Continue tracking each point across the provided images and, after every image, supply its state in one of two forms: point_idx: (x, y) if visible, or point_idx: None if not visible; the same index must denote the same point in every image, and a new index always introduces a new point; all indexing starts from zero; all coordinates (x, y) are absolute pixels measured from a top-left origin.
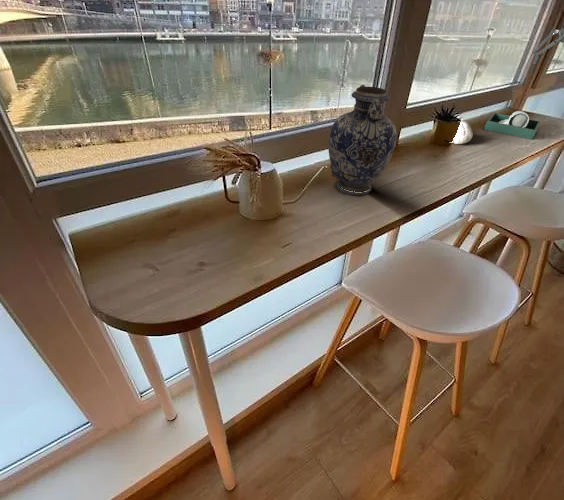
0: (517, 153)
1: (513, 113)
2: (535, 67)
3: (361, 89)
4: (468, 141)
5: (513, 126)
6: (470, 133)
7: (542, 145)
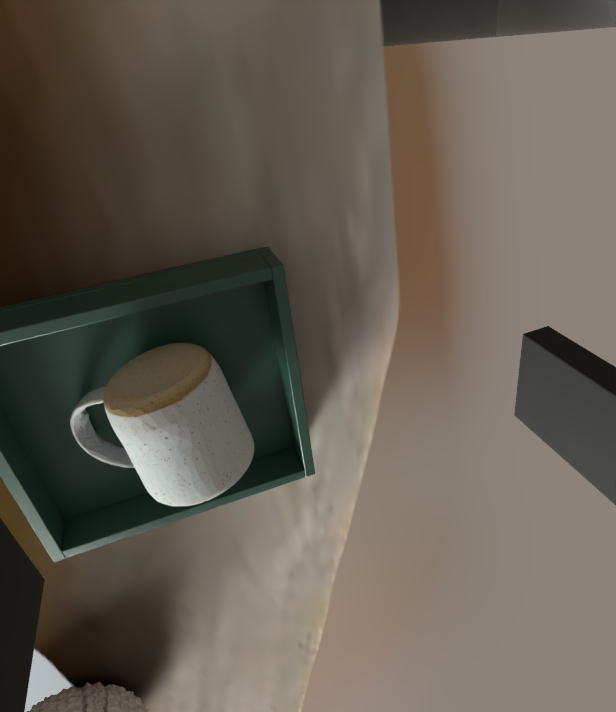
0: (302, 609)
1: (134, 455)
2: (21, 676)
3: None
4: (143, 705)
5: (205, 510)
6: None
7: (351, 471)
